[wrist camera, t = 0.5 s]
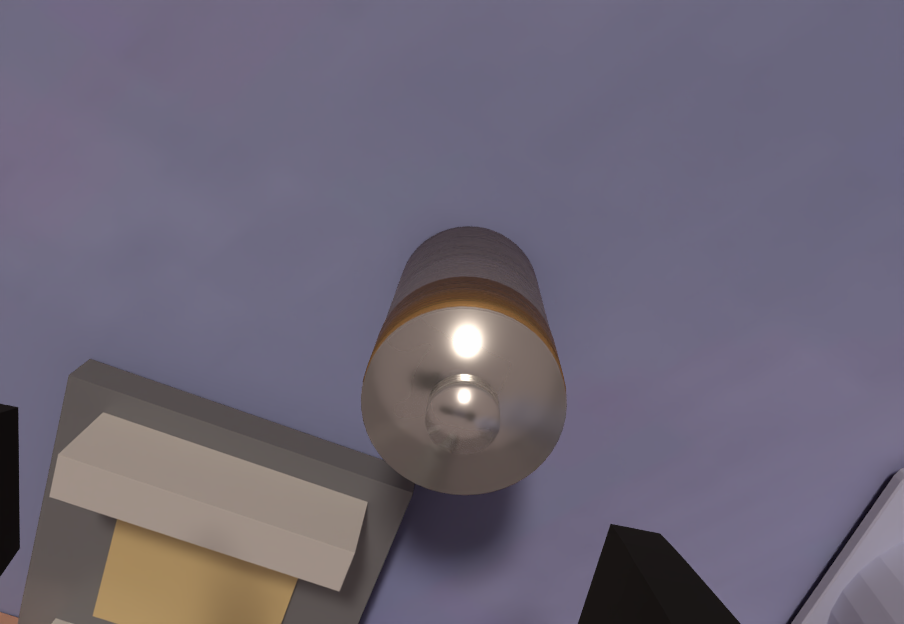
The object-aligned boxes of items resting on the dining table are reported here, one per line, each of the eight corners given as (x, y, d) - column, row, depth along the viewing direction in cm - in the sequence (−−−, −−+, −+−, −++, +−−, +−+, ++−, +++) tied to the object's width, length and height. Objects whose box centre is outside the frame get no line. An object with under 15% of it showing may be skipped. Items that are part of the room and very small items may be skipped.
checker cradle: (416, 471, 19) (402, 560, 16) (313, 717, 22) (283, 835, 19) (89, 358, 18) (0, 426, 15) (31, 629, 21) (-53, 736, 18)
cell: (561, 255, 17) (607, 366, 11) (507, 377, 18) (521, 539, 12) (426, 204, 17) (396, 288, 10) (380, 331, 18) (328, 473, 12)
